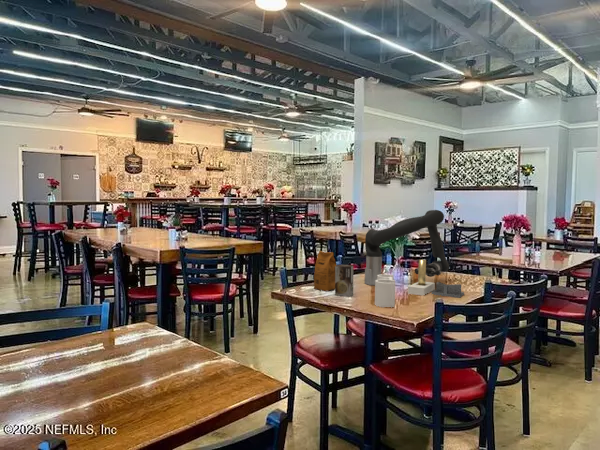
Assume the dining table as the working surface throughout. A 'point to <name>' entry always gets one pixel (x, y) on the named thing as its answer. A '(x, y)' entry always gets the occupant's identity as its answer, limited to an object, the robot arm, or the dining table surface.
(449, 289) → the v block
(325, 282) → the coffee package
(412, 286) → the grey recessed block
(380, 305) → the grey jar set
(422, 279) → the axle
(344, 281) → the coffee box
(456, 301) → the dining table surface
